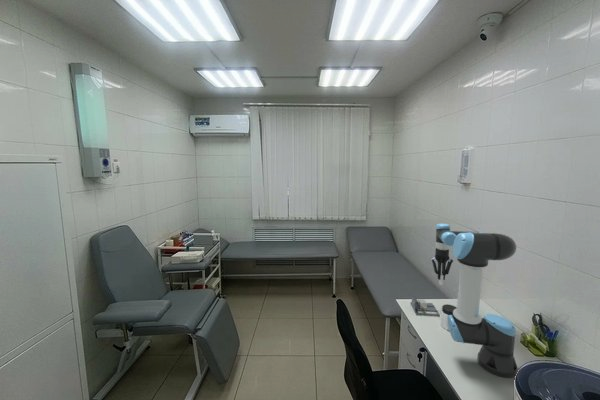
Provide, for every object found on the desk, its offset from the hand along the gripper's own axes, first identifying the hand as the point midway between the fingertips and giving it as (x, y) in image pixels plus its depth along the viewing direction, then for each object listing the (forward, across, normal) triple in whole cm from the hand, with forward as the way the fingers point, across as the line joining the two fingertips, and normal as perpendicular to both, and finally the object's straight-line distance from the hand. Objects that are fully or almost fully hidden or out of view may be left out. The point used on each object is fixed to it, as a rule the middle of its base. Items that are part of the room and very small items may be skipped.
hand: (440, 284), depth 169 cm
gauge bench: (+19, +9, -2) cm, 21 cm away
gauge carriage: (+17, +10, 0) cm, 20 cm away
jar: (+19, +1, +16) cm, 25 cm away
